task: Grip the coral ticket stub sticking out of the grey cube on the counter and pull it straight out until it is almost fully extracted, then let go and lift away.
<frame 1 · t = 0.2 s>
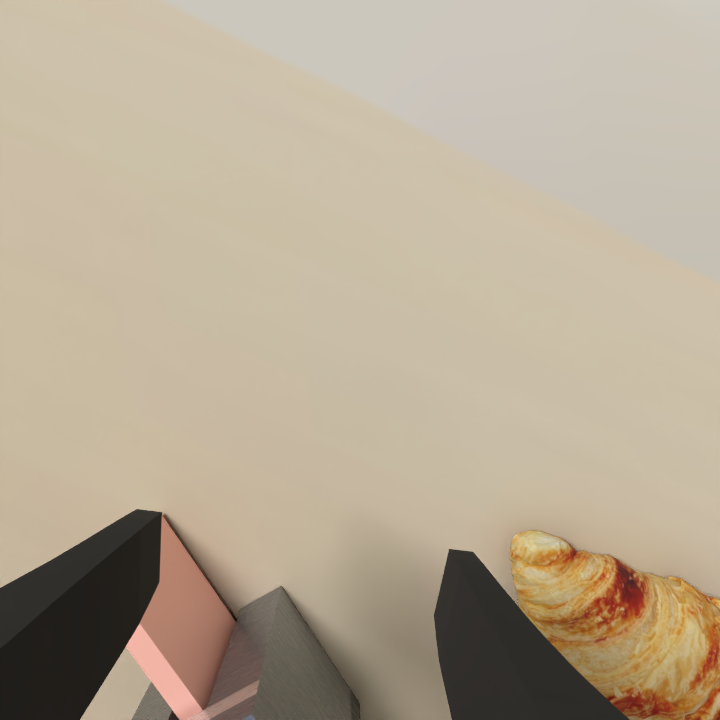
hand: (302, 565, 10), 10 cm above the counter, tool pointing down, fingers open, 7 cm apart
grey cube: (265, 677, 22), on the counter
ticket: (207, 660, 19), point 3 cm above the counter, slide at 0.0 cm
croissant: (635, 640, 23), on the counter
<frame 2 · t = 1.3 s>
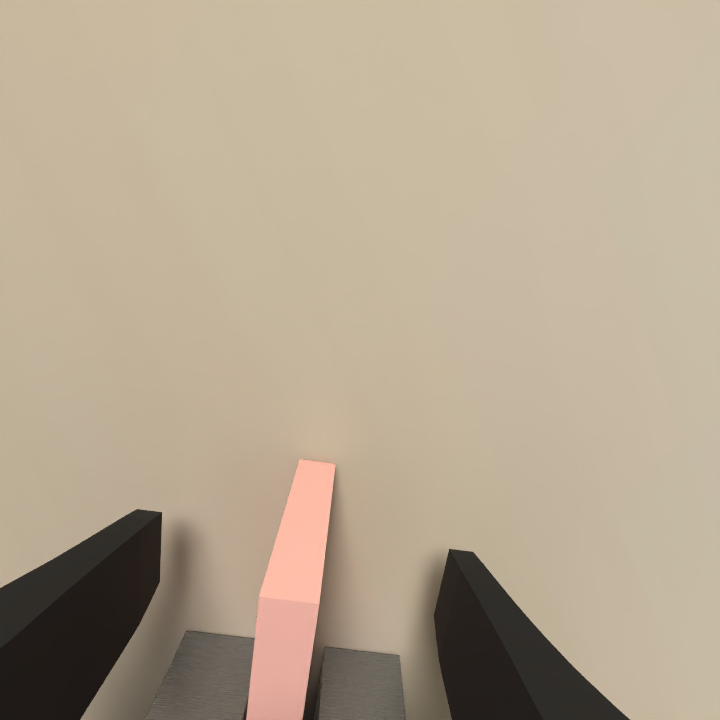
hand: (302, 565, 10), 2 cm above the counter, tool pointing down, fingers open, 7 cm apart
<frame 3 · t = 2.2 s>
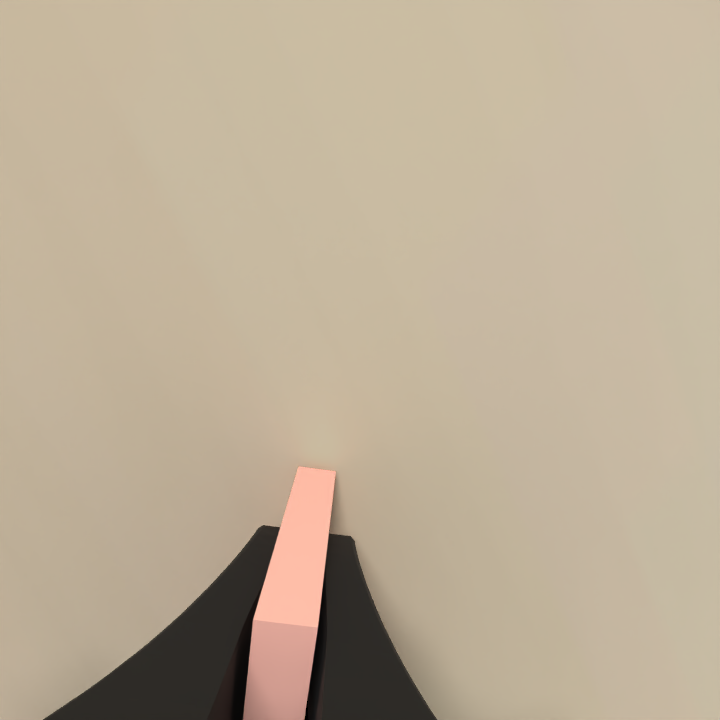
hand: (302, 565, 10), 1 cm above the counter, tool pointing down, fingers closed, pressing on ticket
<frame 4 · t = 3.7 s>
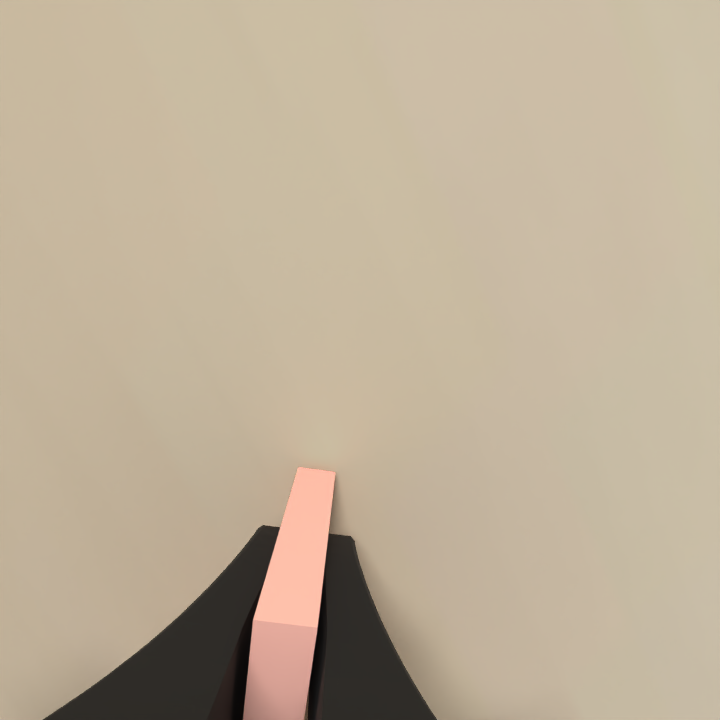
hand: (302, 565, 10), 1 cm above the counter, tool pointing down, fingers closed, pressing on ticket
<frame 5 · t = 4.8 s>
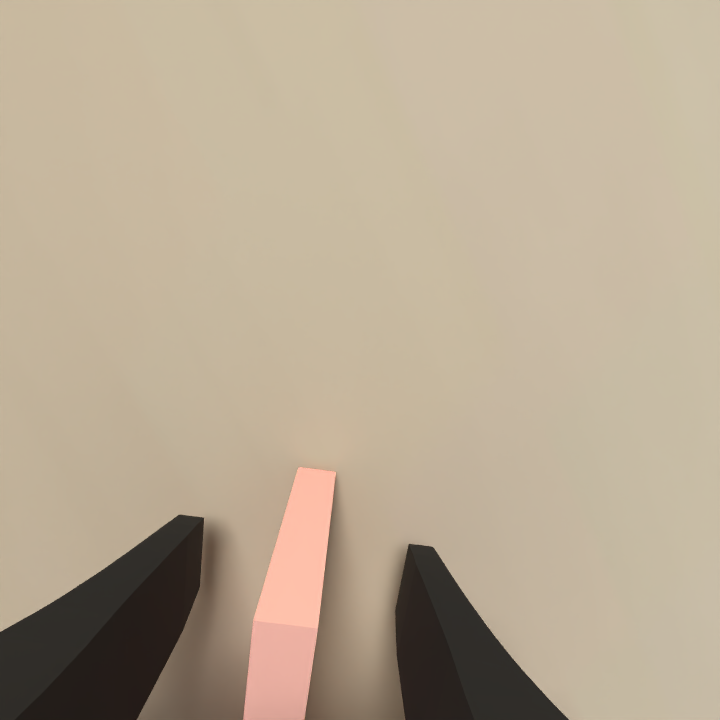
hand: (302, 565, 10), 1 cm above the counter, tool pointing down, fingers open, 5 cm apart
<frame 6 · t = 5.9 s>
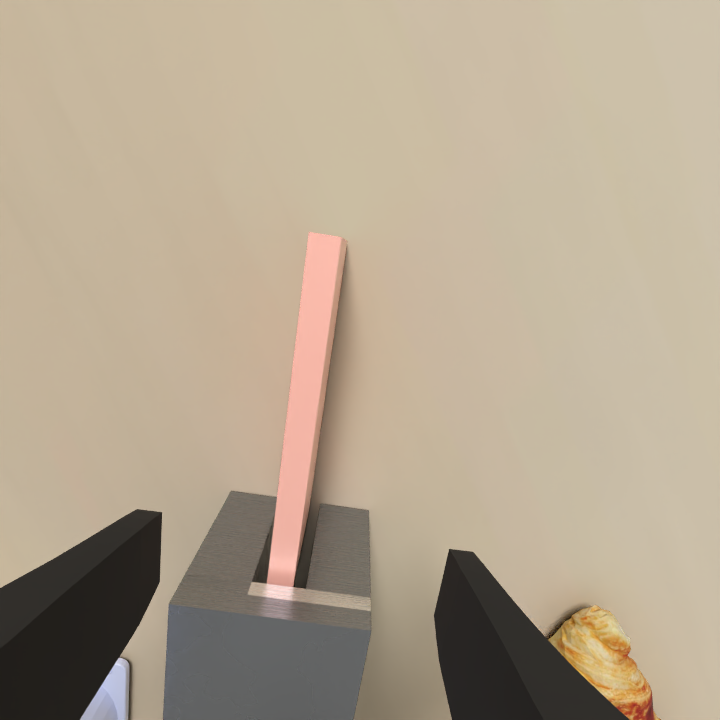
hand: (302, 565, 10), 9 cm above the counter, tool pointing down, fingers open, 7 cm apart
grey cube: (291, 568, 22), on the counter
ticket: (308, 406, 17), point 3 cm above the counter, slide at 6.0 cm
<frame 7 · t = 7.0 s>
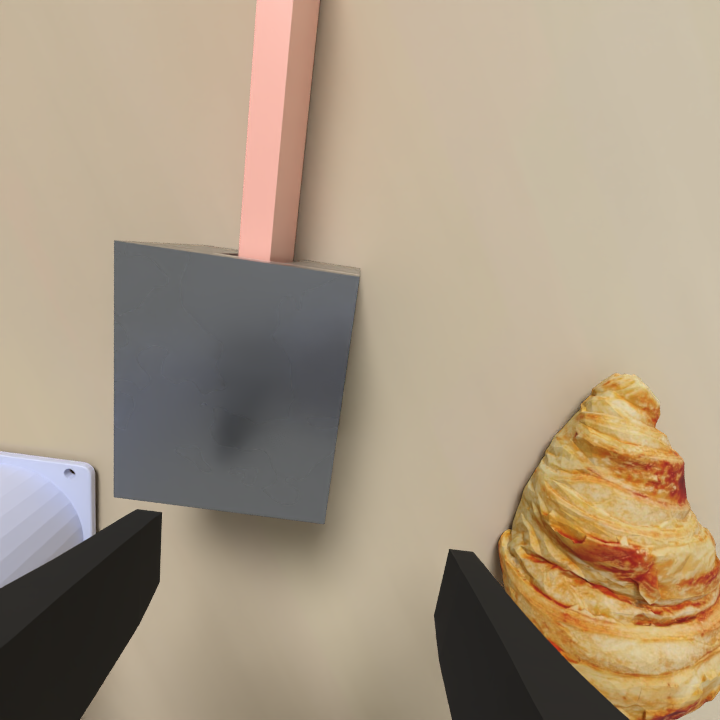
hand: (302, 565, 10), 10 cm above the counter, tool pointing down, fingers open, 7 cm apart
grey cube: (273, 346, 19), on the counter
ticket: (286, 77, 14), point 3 cm above the counter, slide at 6.0 cm
croissant: (586, 553, 22), on the counter
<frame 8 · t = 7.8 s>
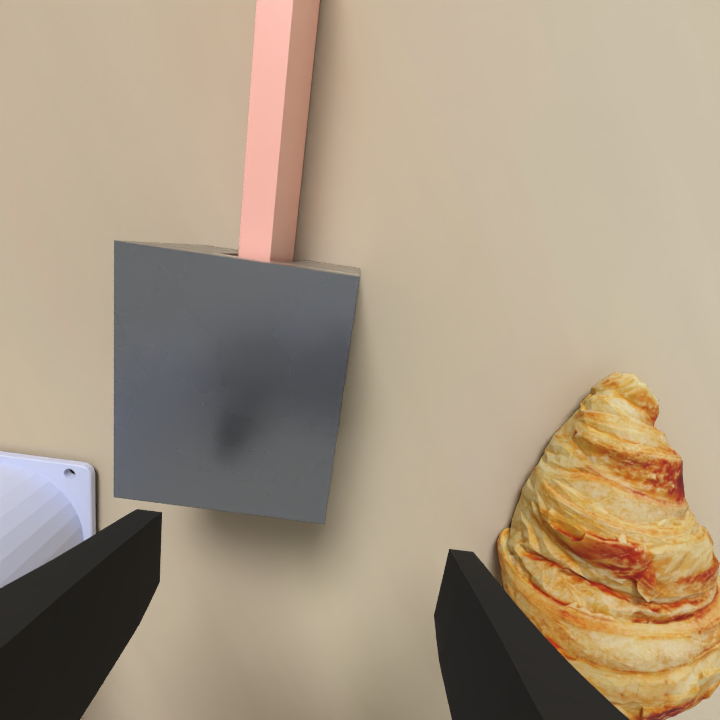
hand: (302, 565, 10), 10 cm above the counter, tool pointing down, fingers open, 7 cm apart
grey cube: (273, 346, 19), on the counter
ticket: (286, 77, 14), point 3 cm above the counter, slide at 6.0 cm
croissant: (584, 552, 22), on the counter
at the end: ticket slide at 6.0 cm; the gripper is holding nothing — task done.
